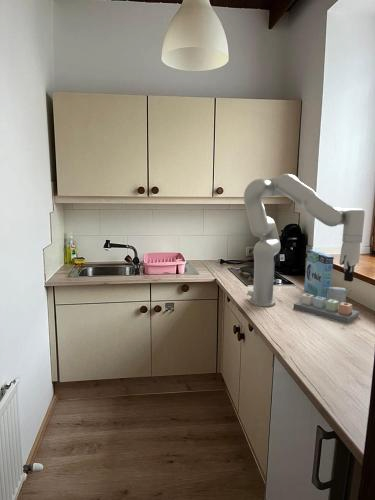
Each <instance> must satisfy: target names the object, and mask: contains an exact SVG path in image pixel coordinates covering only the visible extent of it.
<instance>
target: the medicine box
mask: <svg viewBox="0 0 375 500" xmlns="http://www.w3.org/2000/svg"><path fill="white" fill-rule="evenodd" d="M346 298H347V289H346V288H345V287H339V286H338V287H337V286H331V287H328V291H327V300H329V299H332V300H336V301H339V304H341V303H342V302H345V303H346Z"/></svg>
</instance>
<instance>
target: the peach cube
mask: <svg viewBox="0 0 375 500" xmlns="http://www.w3.org/2000/svg"><path fill="white" fill-rule="evenodd" d="M352 310H353V304H352V303H349V302H346V301H345V302H342V303H341V304H339V313H341V314H345V315H349V314H351V313H352Z"/></svg>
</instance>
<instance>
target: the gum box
mask: <svg viewBox="0 0 375 500" xmlns="http://www.w3.org/2000/svg"><path fill="white" fill-rule="evenodd" d="M334 259H335V258H334V256H332V255H329V254H327V253H325V252H322V251H320V250H317V249H307V253H306V263H305V266H306V267H305V276H304V285H303V286H304V287H303V290H304V291H305V292H307V294H311V295H314V298H315V297H317V296H319V297H324V298H326V301H327V291H328V287H332V278H333V277H332V276H333V267H334Z"/></svg>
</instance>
